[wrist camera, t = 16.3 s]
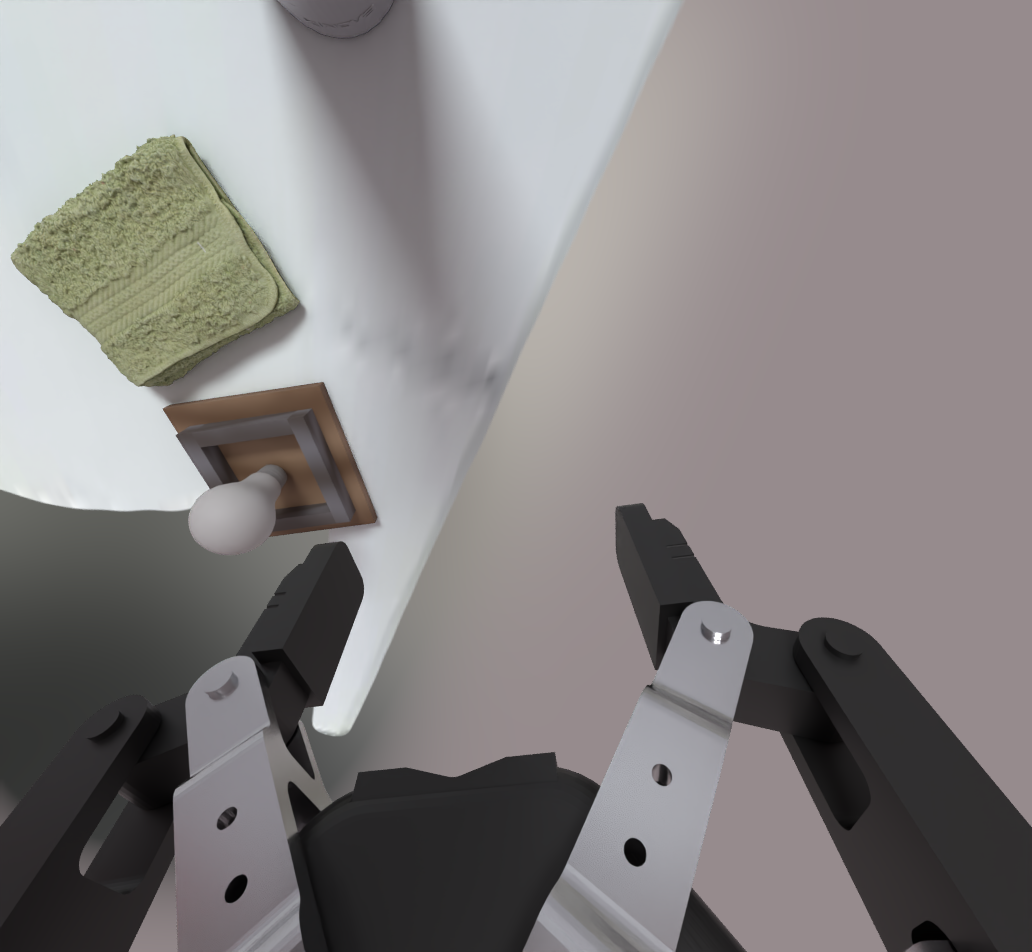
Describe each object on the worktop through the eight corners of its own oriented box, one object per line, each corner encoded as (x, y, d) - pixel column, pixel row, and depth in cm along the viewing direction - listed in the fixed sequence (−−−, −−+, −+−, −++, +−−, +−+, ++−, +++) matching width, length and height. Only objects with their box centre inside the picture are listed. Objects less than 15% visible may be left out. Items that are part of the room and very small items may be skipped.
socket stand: (169, 404, 38) (146, 417, 36) (323, 382, 38) (310, 393, 35) (250, 534, 47) (236, 551, 44) (377, 517, 46) (370, 534, 44)
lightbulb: (247, 488, 42) (175, 562, 33) (244, 438, 39) (163, 503, 30) (308, 500, 43) (255, 576, 34) (309, 452, 40) (252, 520, 31)
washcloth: (313, 301, 35) (297, 308, 32) (163, 390, 38) (137, 402, 35) (185, 119, 28) (152, 108, 25) (20, 246, 32) (-26, 248, 29)
